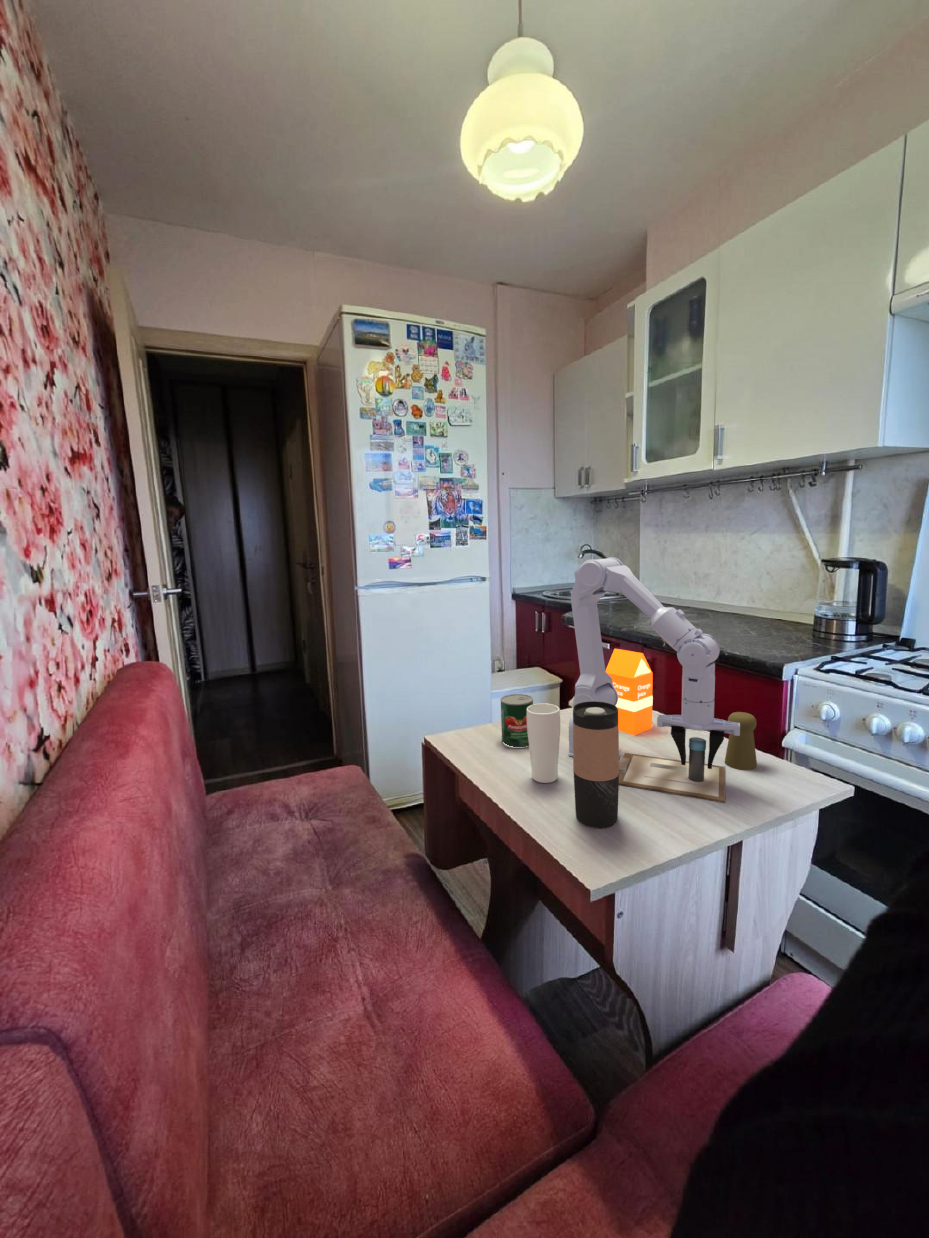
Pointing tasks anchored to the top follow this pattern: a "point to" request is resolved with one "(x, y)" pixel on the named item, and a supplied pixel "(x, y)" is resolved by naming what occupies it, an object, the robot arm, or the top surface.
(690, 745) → the marker
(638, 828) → the top surface
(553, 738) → the drinking glass
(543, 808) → the top surface
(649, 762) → the clipboard
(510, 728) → the canned tomato
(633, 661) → the orange juice
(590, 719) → the travel mug
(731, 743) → the cork
